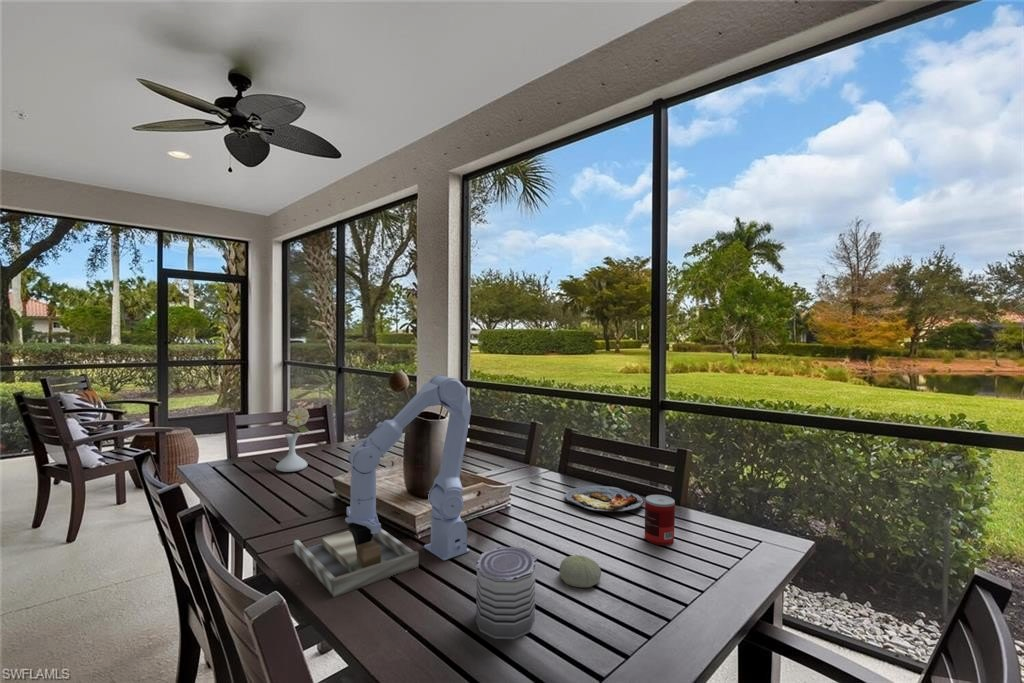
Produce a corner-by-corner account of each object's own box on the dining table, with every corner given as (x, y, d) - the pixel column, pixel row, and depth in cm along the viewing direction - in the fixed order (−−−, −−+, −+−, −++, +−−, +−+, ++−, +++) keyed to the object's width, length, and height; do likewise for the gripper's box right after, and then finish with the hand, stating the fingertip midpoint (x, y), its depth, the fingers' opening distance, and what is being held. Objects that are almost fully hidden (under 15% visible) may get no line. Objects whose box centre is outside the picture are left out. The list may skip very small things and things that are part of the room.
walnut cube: (380, 563, 109) (380, 546, 109) (364, 569, 106) (364, 551, 106) (373, 557, 112) (373, 540, 112) (356, 562, 109) (356, 545, 109)
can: (547, 626, 90) (548, 563, 90) (497, 648, 84) (498, 580, 83) (512, 598, 99) (513, 541, 99) (464, 616, 93) (465, 555, 93)
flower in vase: (269, 473, 183) (269, 408, 182) (287, 465, 194) (288, 404, 194) (300, 475, 181) (300, 409, 180) (317, 467, 192) (317, 405, 192)
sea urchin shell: (595, 587, 101) (571, 554, 104) (570, 605, 104) (548, 572, 107) (610, 569, 108) (587, 539, 111) (587, 587, 111) (565, 556, 114)
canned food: (675, 536, 131) (676, 497, 131) (672, 548, 124) (673, 506, 124) (647, 531, 135) (647, 492, 134) (642, 542, 127) (643, 501, 127)
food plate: (658, 507, 153) (658, 496, 153) (606, 523, 140) (606, 511, 140) (602, 488, 174) (602, 478, 174) (552, 500, 161) (552, 490, 161)
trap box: (418, 567, 112) (418, 552, 112) (333, 597, 99) (333, 581, 99) (370, 531, 131) (370, 519, 131) (293, 552, 118) (294, 539, 118)
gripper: (334, 491, 114) (333, 547, 114) (359, 509, 103) (359, 571, 103) (362, 485, 119) (361, 539, 119) (389, 502, 108) (389, 561, 108)
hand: (362, 554), depth 112 cm, fingers closed
